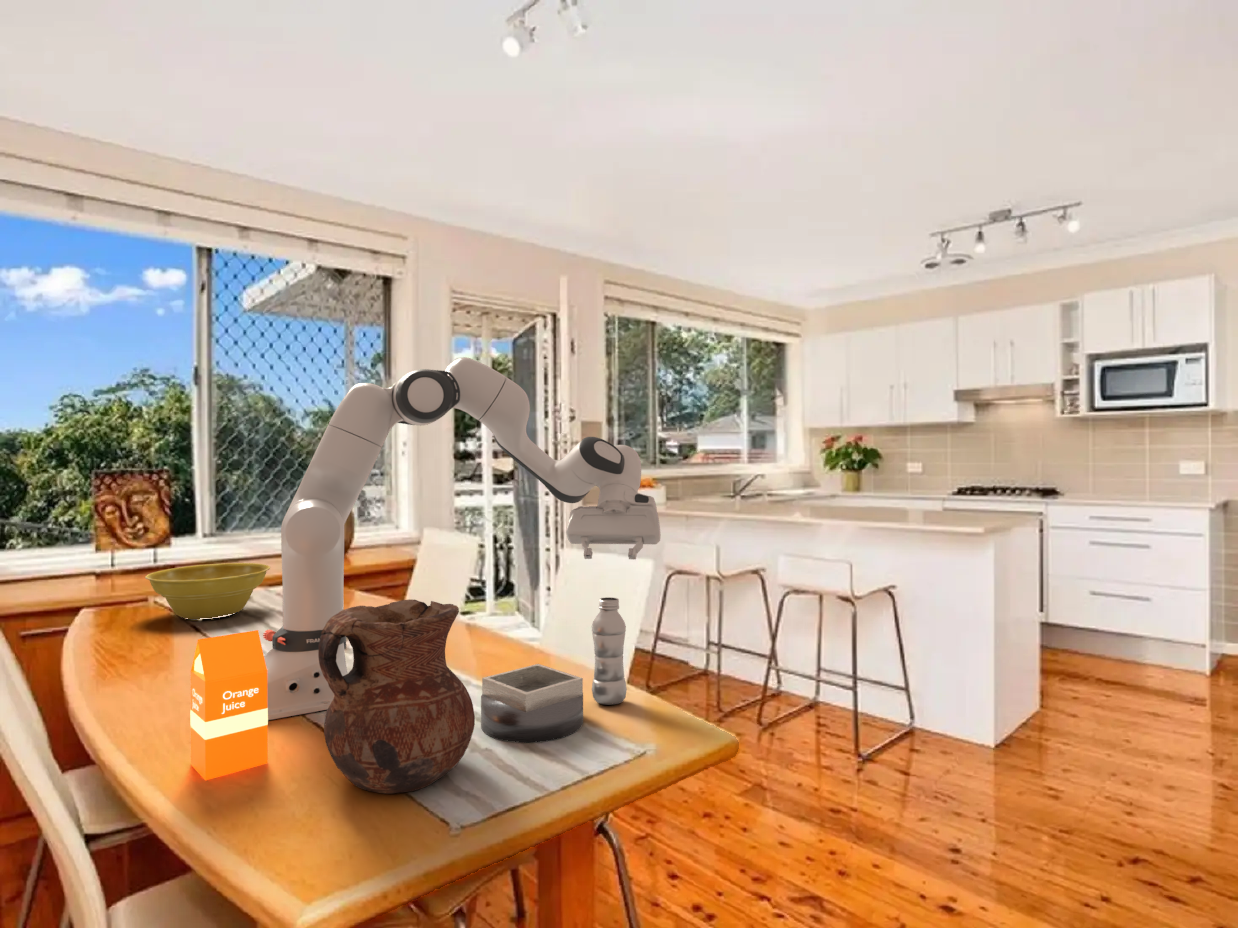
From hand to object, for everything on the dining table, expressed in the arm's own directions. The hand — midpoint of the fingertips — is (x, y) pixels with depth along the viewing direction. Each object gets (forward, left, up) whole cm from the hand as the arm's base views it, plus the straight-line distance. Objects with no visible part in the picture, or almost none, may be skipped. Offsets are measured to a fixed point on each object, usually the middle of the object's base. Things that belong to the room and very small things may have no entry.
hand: (609, 557), depth 153 cm
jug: (-53, -10, -26) cm, 60 cm away
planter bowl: (-40, +128, -26) cm, 137 cm away
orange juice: (-70, +12, -26) cm, 75 cm away
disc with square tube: (-26, -7, -26) cm, 37 cm away
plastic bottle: (-9, -9, -26) cm, 29 cm away
